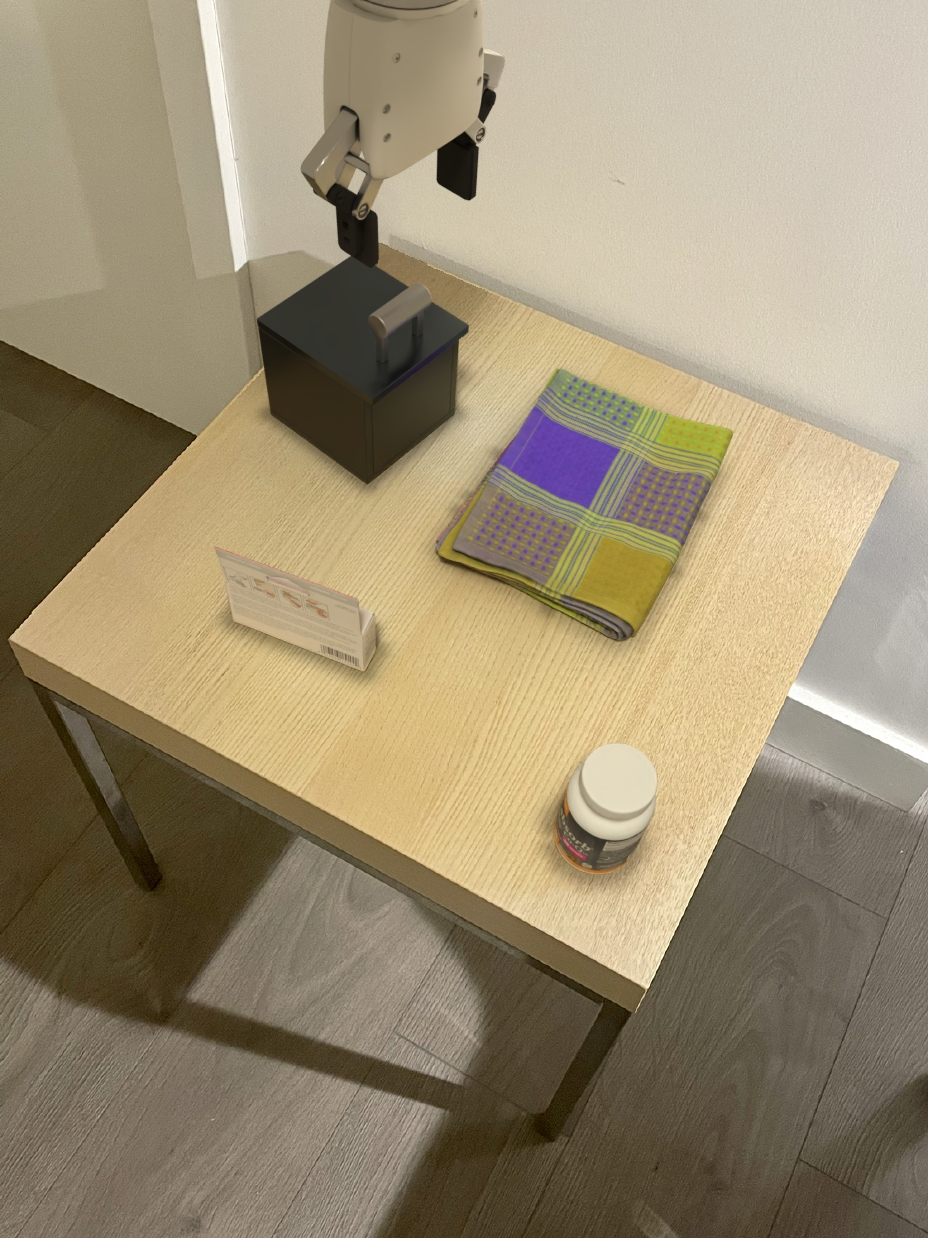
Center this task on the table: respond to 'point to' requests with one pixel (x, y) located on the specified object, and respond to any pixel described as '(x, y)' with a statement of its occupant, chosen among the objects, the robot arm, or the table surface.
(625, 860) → the pill bottle
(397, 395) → the black open box
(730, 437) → the dish towel
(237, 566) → the ink cartridge box
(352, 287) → the black box lid
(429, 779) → the table surface
